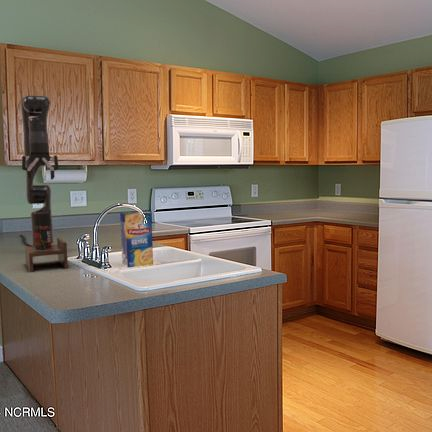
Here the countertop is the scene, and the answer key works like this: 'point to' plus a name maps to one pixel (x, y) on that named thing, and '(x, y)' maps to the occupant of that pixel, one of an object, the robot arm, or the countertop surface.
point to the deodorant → (42, 231)
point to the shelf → (48, 253)
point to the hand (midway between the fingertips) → (41, 179)
